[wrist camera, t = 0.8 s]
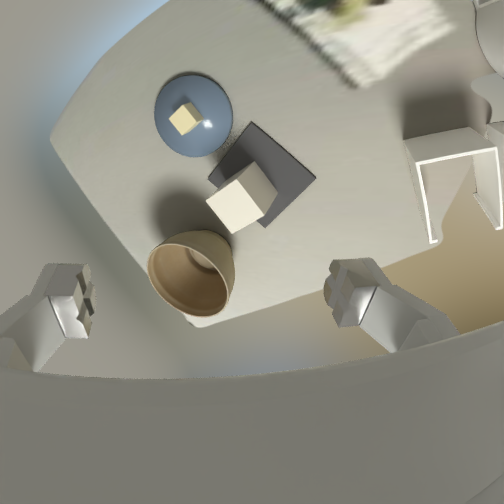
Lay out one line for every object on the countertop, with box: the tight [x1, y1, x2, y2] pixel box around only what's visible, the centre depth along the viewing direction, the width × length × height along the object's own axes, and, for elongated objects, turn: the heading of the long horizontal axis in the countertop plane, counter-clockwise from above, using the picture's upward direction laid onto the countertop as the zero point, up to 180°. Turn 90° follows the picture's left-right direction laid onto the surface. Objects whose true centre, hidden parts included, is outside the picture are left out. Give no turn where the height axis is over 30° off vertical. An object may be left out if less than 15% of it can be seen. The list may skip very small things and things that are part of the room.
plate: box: [154, 75, 233, 157], centre depth 46 cm, size 14×14×1 cm
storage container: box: [403, 121, 504, 244], centre depth 31 cm, size 25×11×11 cm, turn 115°
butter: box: [169, 102, 204, 135], centre depth 45 cm, size 4×4×2 cm
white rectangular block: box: [206, 161, 278, 234], centre depth 48 cm, size 6×6×8 cm
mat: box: [208, 123, 316, 228], centre depth 50 cm, size 13×13×1 cm
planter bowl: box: [147, 230, 235, 317], centre depth 58 cm, size 16×16×11 cm
